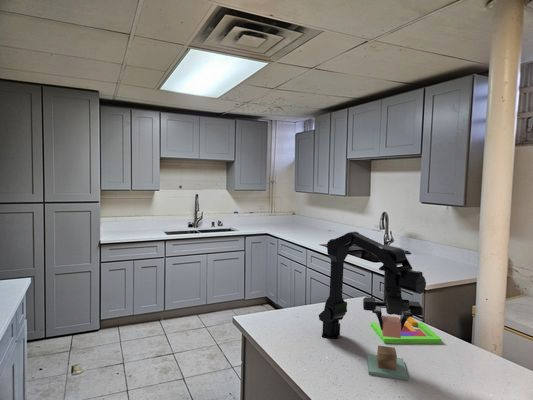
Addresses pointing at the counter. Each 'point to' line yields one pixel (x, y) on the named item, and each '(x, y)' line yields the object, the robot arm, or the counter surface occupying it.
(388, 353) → the walnut brick
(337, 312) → the robot arm
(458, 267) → the counter surface
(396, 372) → the base plate
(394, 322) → the salmon pink brick
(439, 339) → the green block puzzle board
